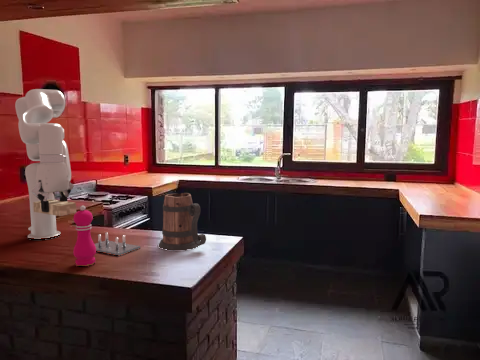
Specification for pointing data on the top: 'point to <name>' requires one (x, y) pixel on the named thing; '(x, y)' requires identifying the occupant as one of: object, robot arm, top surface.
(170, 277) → the top surface
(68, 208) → the tan rectangular block
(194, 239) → the tankard
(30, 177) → the robot arm
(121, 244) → the chassis
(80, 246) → the pepper mill
